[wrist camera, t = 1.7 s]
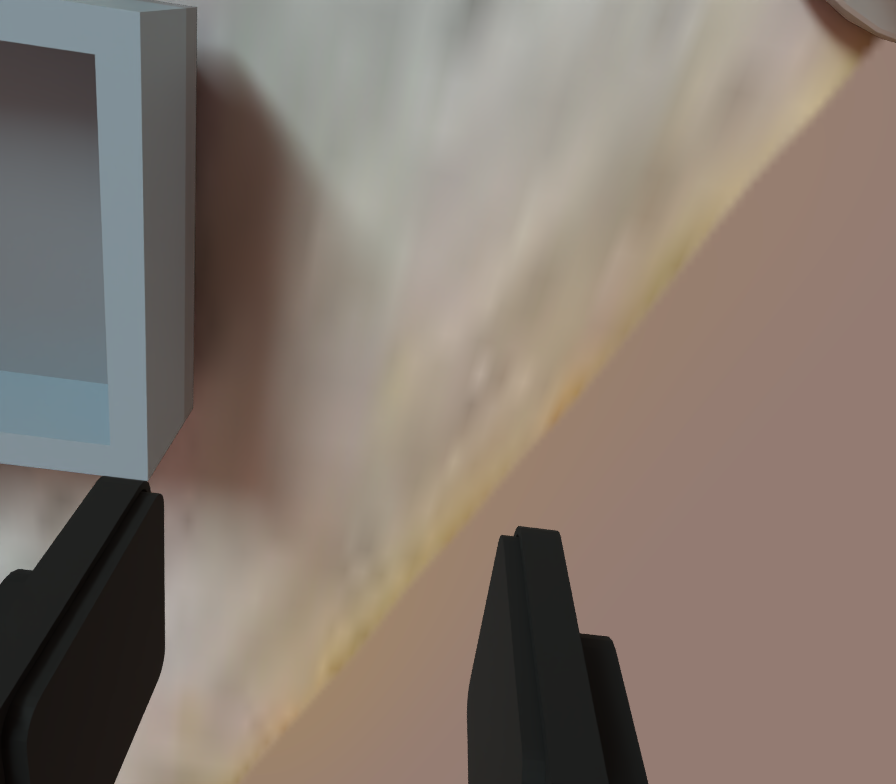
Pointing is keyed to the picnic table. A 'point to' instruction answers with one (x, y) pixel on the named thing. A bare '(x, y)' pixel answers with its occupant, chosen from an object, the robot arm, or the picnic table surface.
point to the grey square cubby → (96, 232)
